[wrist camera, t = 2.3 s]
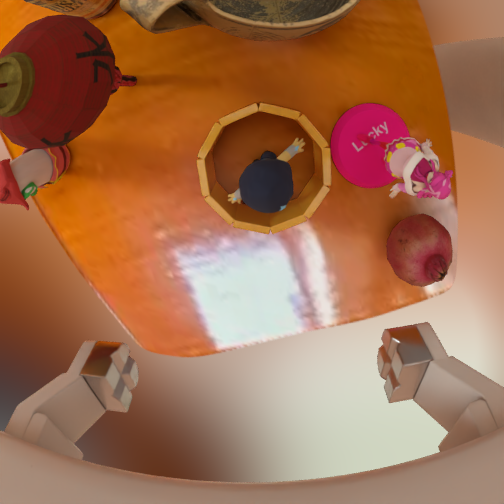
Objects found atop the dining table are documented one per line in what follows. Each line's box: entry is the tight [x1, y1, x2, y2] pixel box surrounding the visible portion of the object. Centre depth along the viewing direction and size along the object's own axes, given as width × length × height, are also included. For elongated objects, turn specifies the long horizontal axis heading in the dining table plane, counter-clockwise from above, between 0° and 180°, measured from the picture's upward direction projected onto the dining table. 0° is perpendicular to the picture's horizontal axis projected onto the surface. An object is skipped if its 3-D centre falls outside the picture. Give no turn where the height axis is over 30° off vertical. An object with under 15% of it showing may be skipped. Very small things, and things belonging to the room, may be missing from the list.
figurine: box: [331, 103, 453, 199], centre depth 24 cm, size 10×10×15 cm
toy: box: [0, 145, 70, 210], centre depth 25 cm, size 5×8×15 cm
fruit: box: [386, 214, 452, 287], centre depth 31 cm, size 8×8×10 cm
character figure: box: [228, 138, 305, 213], centre depth 27 cm, size 9×4×12 cm, turn 132°
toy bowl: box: [196, 102, 331, 234], centre depth 30 cm, size 12×13×5 cm
